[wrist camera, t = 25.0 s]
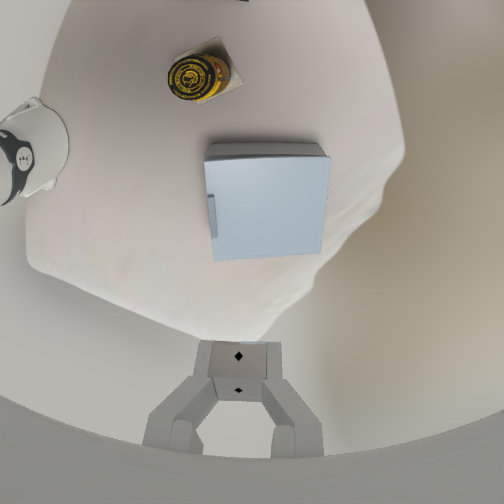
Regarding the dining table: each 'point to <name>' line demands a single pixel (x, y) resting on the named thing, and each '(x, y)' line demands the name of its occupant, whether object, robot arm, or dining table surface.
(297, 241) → the lid
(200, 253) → the dining table surface
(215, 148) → the housing
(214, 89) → the condiment
